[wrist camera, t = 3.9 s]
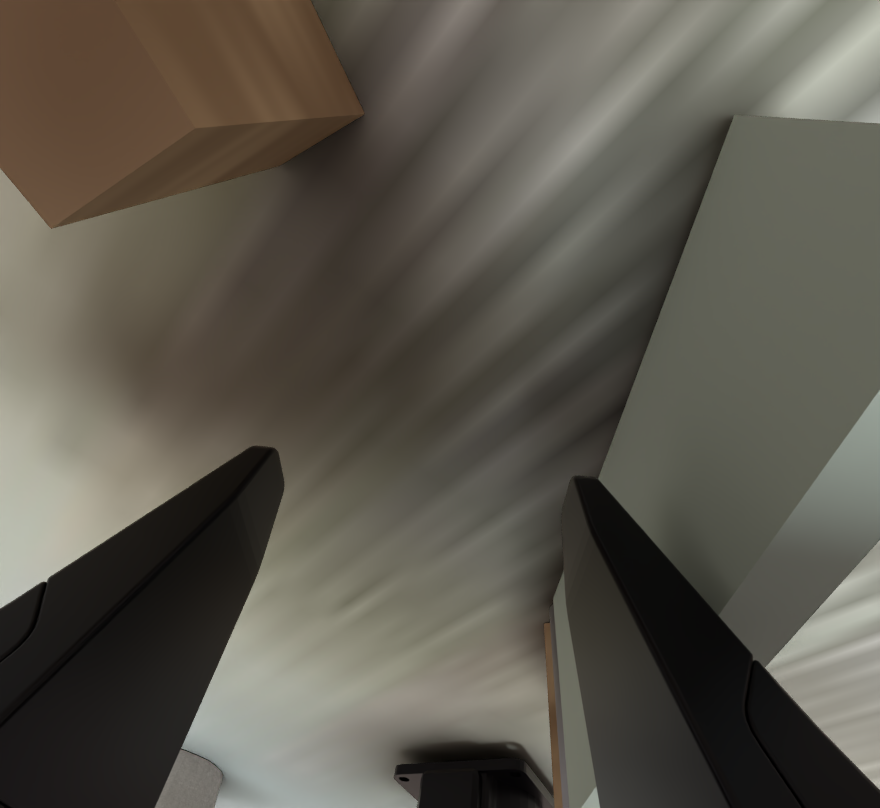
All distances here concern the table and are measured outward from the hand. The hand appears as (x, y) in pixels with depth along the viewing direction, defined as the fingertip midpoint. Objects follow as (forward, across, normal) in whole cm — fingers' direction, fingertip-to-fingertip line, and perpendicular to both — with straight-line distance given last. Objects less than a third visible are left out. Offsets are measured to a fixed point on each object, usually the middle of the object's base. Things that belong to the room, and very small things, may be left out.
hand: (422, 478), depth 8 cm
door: (+3, -4, +8) cm, 10 cm away
